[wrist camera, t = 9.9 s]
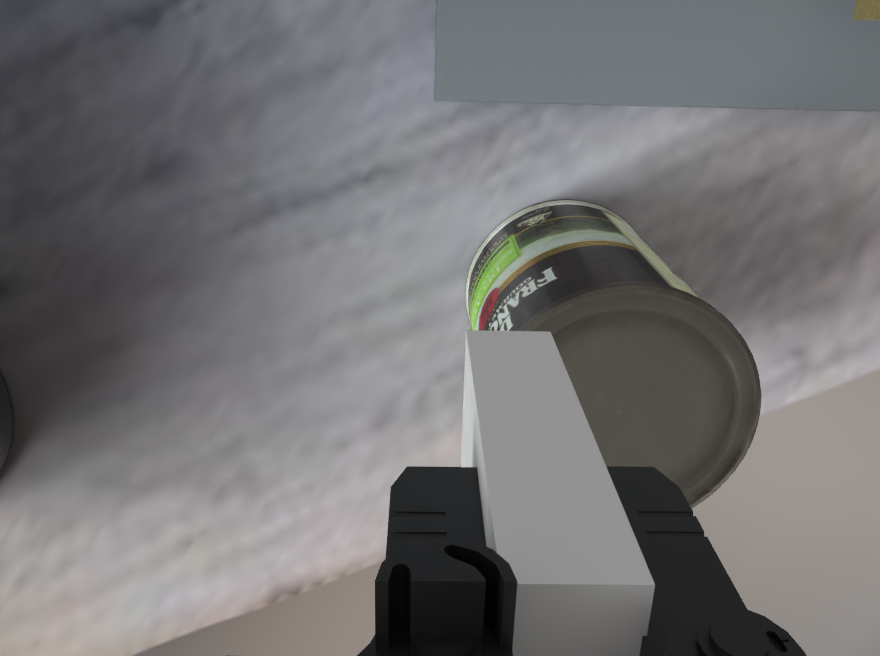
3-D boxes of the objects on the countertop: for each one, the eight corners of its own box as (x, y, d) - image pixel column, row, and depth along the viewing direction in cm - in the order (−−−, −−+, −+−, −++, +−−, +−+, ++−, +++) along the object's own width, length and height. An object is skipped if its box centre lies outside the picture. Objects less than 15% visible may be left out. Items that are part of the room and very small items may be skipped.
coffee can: (434, 339, 42) (438, 482, 29) (515, 167, 39) (562, 240, 25) (598, 405, 44) (673, 567, 31) (690, 245, 40) (818, 351, 27)
